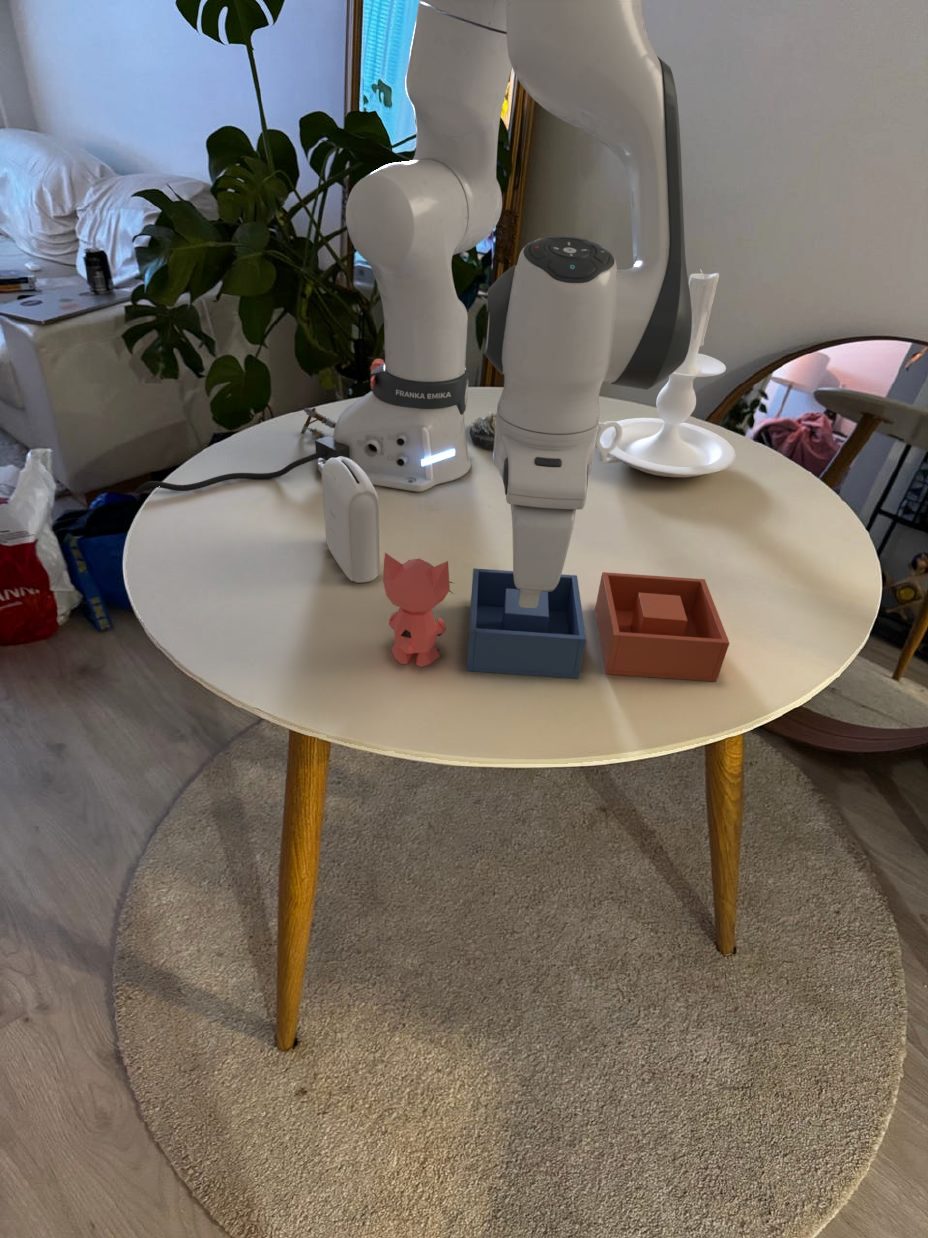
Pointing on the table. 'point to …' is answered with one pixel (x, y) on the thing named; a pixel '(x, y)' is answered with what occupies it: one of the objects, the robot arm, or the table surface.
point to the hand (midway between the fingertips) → (526, 576)
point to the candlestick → (674, 411)
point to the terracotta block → (659, 615)
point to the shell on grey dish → (484, 431)
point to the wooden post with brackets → (318, 417)
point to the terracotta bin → (659, 653)
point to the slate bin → (524, 649)
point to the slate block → (525, 614)
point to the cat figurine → (415, 607)
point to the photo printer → (351, 519)
